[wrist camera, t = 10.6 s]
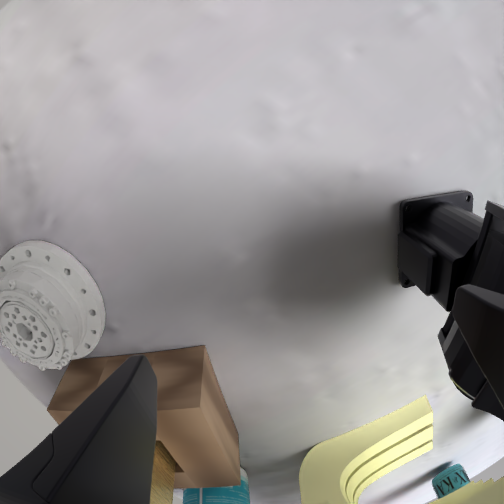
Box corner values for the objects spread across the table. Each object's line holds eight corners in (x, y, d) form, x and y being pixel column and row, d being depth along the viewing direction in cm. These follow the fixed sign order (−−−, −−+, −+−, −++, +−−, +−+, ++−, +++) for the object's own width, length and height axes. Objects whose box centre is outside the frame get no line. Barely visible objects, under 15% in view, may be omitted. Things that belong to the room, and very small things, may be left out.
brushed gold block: (164, 399, 23) (147, 509, 14) (179, 427, 24) (170, 527, 15) (131, 401, 23) (106, 504, 14) (148, 428, 24) (133, 523, 15)
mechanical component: (-10, 293, 20) (73, 366, 23) (-37, 320, 16) (56, 402, 19) (31, 210, 18) (132, 303, 21) (-5, 232, 14) (115, 342, 17)
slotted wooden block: (204, 345, 23) (200, 407, 17) (238, 433, 27) (241, 485, 22) (71, 359, 23) (46, 409, 17) (127, 440, 27) (118, 485, 22)
